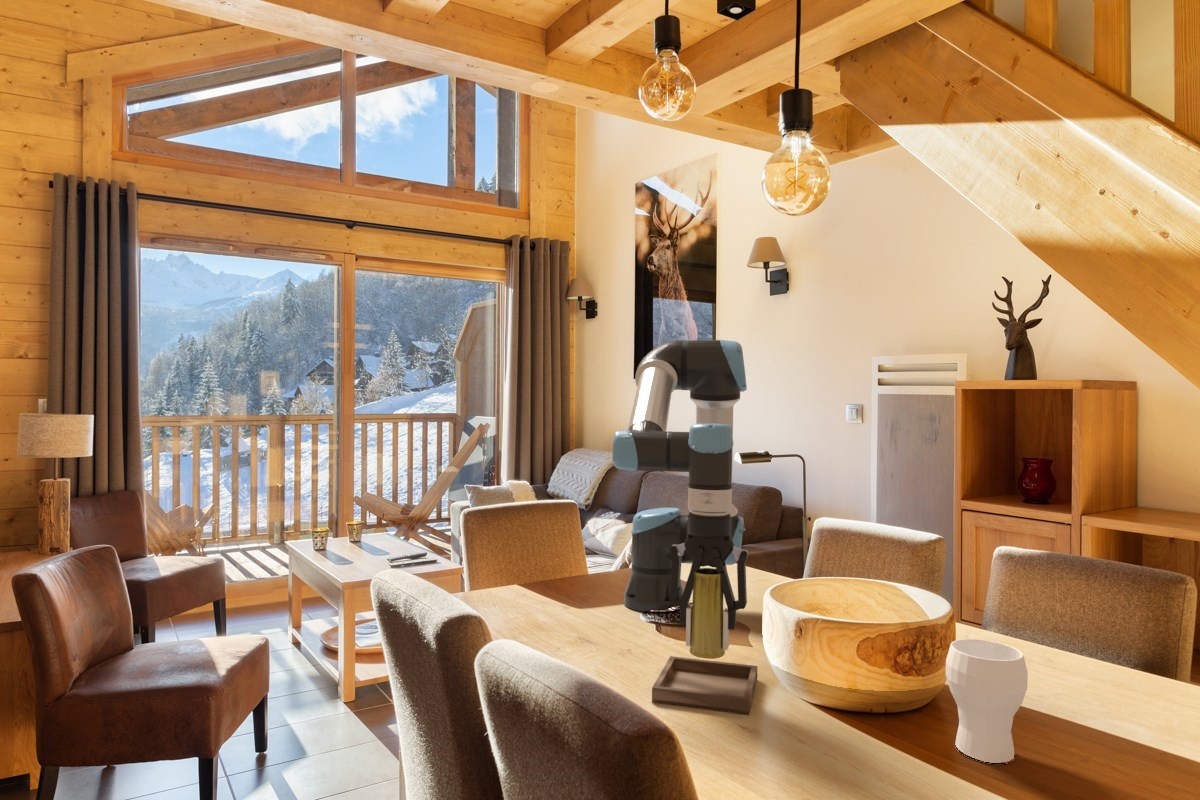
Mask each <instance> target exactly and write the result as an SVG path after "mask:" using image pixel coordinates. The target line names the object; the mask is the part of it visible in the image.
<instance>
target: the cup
mask: <svg viewBox="0 0 1200 800" xmlns="http://www.w3.org/2000/svg"><path fill="white" fill-rule="evenodd" d="M1025 659H1026V658H1025V655H1024V654H1023V652H1022V651H1021V650H1019V649H1018V648H1015V647H1014V646H1011V645H1008V644H1005V643H1002V642H998V641H995V640H994V641H992V640H986V639H978V638H962V639H956V640H953V641H952V642H950V644H949V649H948V653H947V655H946V659H945V676H946V677H945V678H946V680H947V682H948V687H949V690H950V693H951V696H952V697H953V699H954V702H955V703H956V706H957V707H956V708H957V713H958V714H957V715H958V728H957V732H956V735H955V736H956V737H955V744H954V746H955V745H956V747H957V748H958V750H960V751H961V752H963V753H964V754H966V755H968V756H970V757H972V758H975V759H978V760H981V761H984V762H983V763H985V762H990V763H989V764H991V763H1001V762H1007V761H1010V760H1011V759H1013V758H1014V755H1015V747H1014V740H1013V735H1012V727H1013V721H1014V718H1015V715H1016V713H1017V711H1018V710H1019V709H1020V707H1021V706H1022V704H1023V701H1024V698H1025V696H1026V693H1027V690H1028V675H1029V673H1028V669H1027V665H1026V660H1025ZM956 747H955V748H956ZM958 750H957V751H958ZM1014 759H1015V758H1014ZM981 761H980V762H981Z"/></svg>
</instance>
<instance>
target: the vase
mask: <svg viewBox="0 0 1200 800" xmlns="http://www.w3.org/2000/svg"><path fill="white" fill-rule="evenodd" d="M692 605H693V606H692V629H691V645H690V646H689V653H690V654H691V656H694V657H697V658H701V659H705V660H708V659H709V660H710V659H711V660H713V659H720V658H722V657H724V656H725V653H726V650H723V612H724V593H723V590H722V586H721V574H718V573H717V570H716V568H715V567H700V569H699V572H698V573H697V572H694V584H693V591H692Z"/></svg>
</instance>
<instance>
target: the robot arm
mask: <svg viewBox="0 0 1200 800" xmlns="http://www.w3.org/2000/svg"><path fill="white" fill-rule="evenodd" d="M744 359H745V358H744V352H743V346H742V345H741V343H739V342H738V341H736V340H723V339H706V340H704V339H703V340H701V339H700V340H692V339H691V340H681V339H678V340H677V339H676V340H670V341H668V342H667V341H666V342H664V343H662V344H659V345H658V346H656V347H655V348H653V349H652V350H651V351H649V352H648V353H647V354H646V355H645V356H644V357H642V359H641V361H640V362H639V364H638V366H637V369H636V371H635V377H634V379H635V385H636V392H635V397H634V400H633V404H632V410H631V414H630V417H629V422H628V427H627V429H625V430H618V431H615V433H614V434H613V438H612V446H611V447H612V448H611V449H612V450H611V451H612V454H611V456H612V463H613V466H614V467H615V468H616V469H617V470H624V471H625V470H627V471H632V472H637V471H638V472H641V471H643V472H676V473H678V472H679V473H688V487H687V488H688V490H687V491H688V492H687V493H688V494H687V495H688V496H687V509H688V514H682V512H681V510H680V508H678V507H658V508H656V507H655V508H650V509H646V510H642V511H638V512H637V513H635V514H634V516H633V519H632V525H631V526H632V527H631V528H632V529H631V533H630V534H631V535H632V537H631V573H630V575H629V578H628V582H627V585H626V587H625V592H624V593H623V594H624V595H623V604H624V606H625V607H626V608H629V609H631V610H634V611H636V612H637V611H639V612H645V611H650V610H665V609H668V608H671V607H674V606H678V605H679V606H680V610H679V613H680V616H679V617H680V618H679V622H680V625H681V626H685V647H690V645H691V629H692V606H693V604H691V603H690V604H689V602H690V599H691V597H692V595H693V584H694V572H697V573H698V572H699V569H700V568H705V567H709V568H715V569H716V570H717V573H718V574H721V586H722V590H723V593H724V595H723V598H724V600H725V604H726V607H724V609H723V650H725V651H728V649H729V647H730V631H734V630H735V628H736V625H737V611H739V610H744V609H745V608H746V606H747V604H748V601H747V600H748V597H747V596H748V594H747V570H746V569H747V566H746V562H747V560H748V556H749V553H750V552H749V549H748V548H741V547H742V542H743V533H744V523H745V521H744V518H743V517H741V516H740V515H738V513H739V510H738V508H737V507H736V506H735V505H734V504H733V503H732V502H733V488H732V486H733V447H734V406H735V404H736V403H738V402H739V401H740V400H741V392H745V391H747V379H746V369H745V361H744ZM677 390H679V391H689V393H690V394H689V395H690V396H689V399H690V400H691V401H692V402H693V403H694V404H695V406H696V407H695V408H696V409H695V410H696V411H695V412H696V413H695V414H696V415H695V419H696V421H695V422H696V423H693V424H691V425H690V426H689V431H667V428H668V423H669V422H668V420H669V415H670V414H669V412H670V405H671V400H672V399H671V398H672V393H673V392H674V391H677ZM682 564H691V567H690V570H689V574H688V577H687V581H686V582H685V586H684V585H683V583H682V579H681V576H682V572H681V571H682ZM735 564H737V565H736V570H737V574H736V575H737V600H736V598H735V595H734V591H733V588H732V583H731V580H730V577H729V573H728V569H727V566H733V565H735ZM645 613H646V612H645Z"/></svg>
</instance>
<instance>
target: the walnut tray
mask: <svg viewBox="0 0 1200 800" xmlns="http://www.w3.org/2000/svg"><path fill="white" fill-rule="evenodd" d="M757 684H758V665H751V664H744V663H735V662H725V661H717V660H716V661H715V660H710V659H709V660H708V659H698V658H690V657H682V656H674V655H673V656H672V655H670V656H669V657H668V660H667V661H666V662H665V665H664V666H663V668H662V670H661V672H660V674H659V675H658V676H657V678H656V680H655V682H654V684H653V685H652V687H651V703H653V704H659V705H660V704H661V705H668V706H676V707H681V708H682V707H683V708H689V709H699V710H705V711H707V710H708V711H712V712H713V711H715V712H721V713H728V714H729V713H730V714H737V715H742V716H743V715H744V716H750V714H751V710H752V705H753V700H754V696H755V691H756V687H757Z"/></svg>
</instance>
